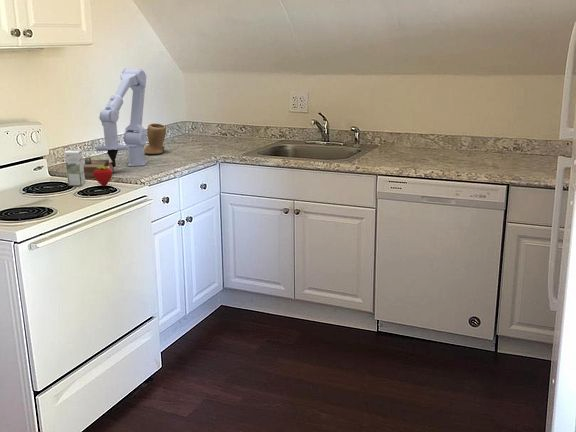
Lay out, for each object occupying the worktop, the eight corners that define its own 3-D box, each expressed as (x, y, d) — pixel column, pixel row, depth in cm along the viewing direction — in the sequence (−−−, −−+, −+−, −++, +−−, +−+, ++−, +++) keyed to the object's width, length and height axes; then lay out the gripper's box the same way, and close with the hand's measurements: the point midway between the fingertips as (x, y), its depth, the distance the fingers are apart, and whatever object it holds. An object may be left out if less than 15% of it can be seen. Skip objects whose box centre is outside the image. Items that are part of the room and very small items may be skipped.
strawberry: (95, 185, 267) (92, 161, 264) (113, 184, 268) (111, 160, 265) (93, 188, 261) (91, 164, 258) (113, 187, 263) (110, 163, 260)
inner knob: (88, 170, 290) (87, 162, 289) (114, 170, 291) (113, 161, 290) (86, 172, 286) (85, 164, 285) (112, 172, 287) (111, 163, 286)
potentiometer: (85, 163, 285) (84, 155, 284) (92, 162, 285) (91, 154, 284) (84, 164, 282) (83, 156, 281) (90, 164, 283) (90, 156, 281)
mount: (89, 170, 292) (88, 160, 291) (109, 170, 293) (108, 159, 291) (82, 178, 278) (81, 167, 276) (103, 178, 279) (102, 166, 277)
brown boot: (166, 155, 323) (164, 125, 319) (142, 156, 323) (139, 126, 319) (170, 149, 338) (168, 121, 334) (147, 150, 337) (145, 121, 333)
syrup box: (85, 182, 271) (82, 148, 267) (82, 186, 266) (78, 151, 261) (72, 182, 271) (68, 149, 267) (68, 186, 266) (63, 151, 261)
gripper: (92, 138, 280) (95, 169, 284) (126, 137, 281) (129, 167, 285) (95, 135, 287) (99, 165, 291) (128, 134, 288) (131, 164, 292)
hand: (114, 166), depth 289 cm, fingers closed, pressing on inner knob
